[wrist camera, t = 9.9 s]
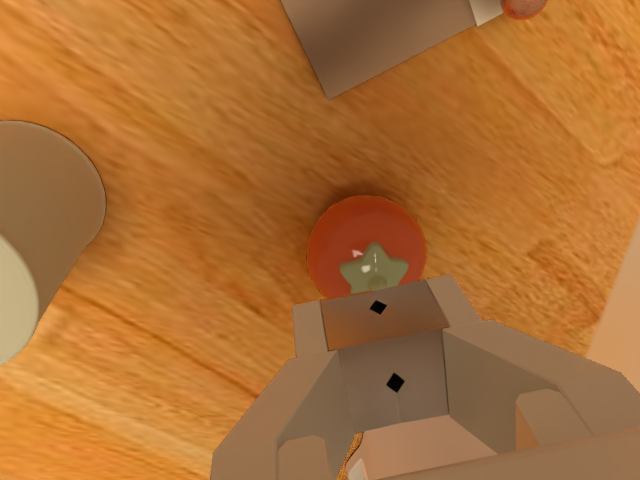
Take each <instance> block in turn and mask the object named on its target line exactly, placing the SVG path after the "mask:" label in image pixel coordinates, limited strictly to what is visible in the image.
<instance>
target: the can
mask: <svg viewBox="0 0 640 480" xmlns="http://www.w3.org/2000/svg"><path fill="white" fill-rule="evenodd" d="M105 211H106V197H105V191H104V187H103V184H102V181H101V178H100V176H99V174H98V172H97V170H96V168H95V167H94V165H93V164H92V162H91V161H90V159H89V158H88V157H87V156H86V155H85V153H84V152H83V151H82V150H80V149H79V148H78V147H77V146H76V145H75V144H74V143H73V142H71V141H70V140H68V139H67V138H65V137H64V136H62V135H61V134H59V133H57V132H55V131H53V130H51V129H49V128H46V127H44V126H41V125H38V124H34V123H30V122H24V121H9V120H5V121H0V366H1V365H3V364H5V363H6V362H8V361H9V360H11V359H12V358H14V357H15V356H16V355H17V354H18V353H19V352H21V350H22V349H23V348H24V347H25V346H26V345H27V343H28V342H29V341H30V339H31V337H32V336H33V334H34V332H35V330H36V327H37V324H38V322H39V321H40V319H41V317H42V316H43V314H44V312H45V311H46V309H47V307H48V306H49V304H50V303H51V301H52V299H53V298H54V296H55V294H56V293H57V291H58V289H59V288H60V286H61V284H62V283H63V281H64V280H65V278H66V276H67V275H68V273H69V272H70V270H71V269H72V267H73V265H74V264H75V262H76V261H77V259H78V258H79V256H80V255H81V253H82V252H83V250H84V249H85V247H86V246H87V245H88V244H89V243H90V242H91V241H92V240H93V239H94V238H95V236H96V235H97V233H98V232H99V230H100V228H101V226H102V223H103V221H104V217H105Z"/></svg>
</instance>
